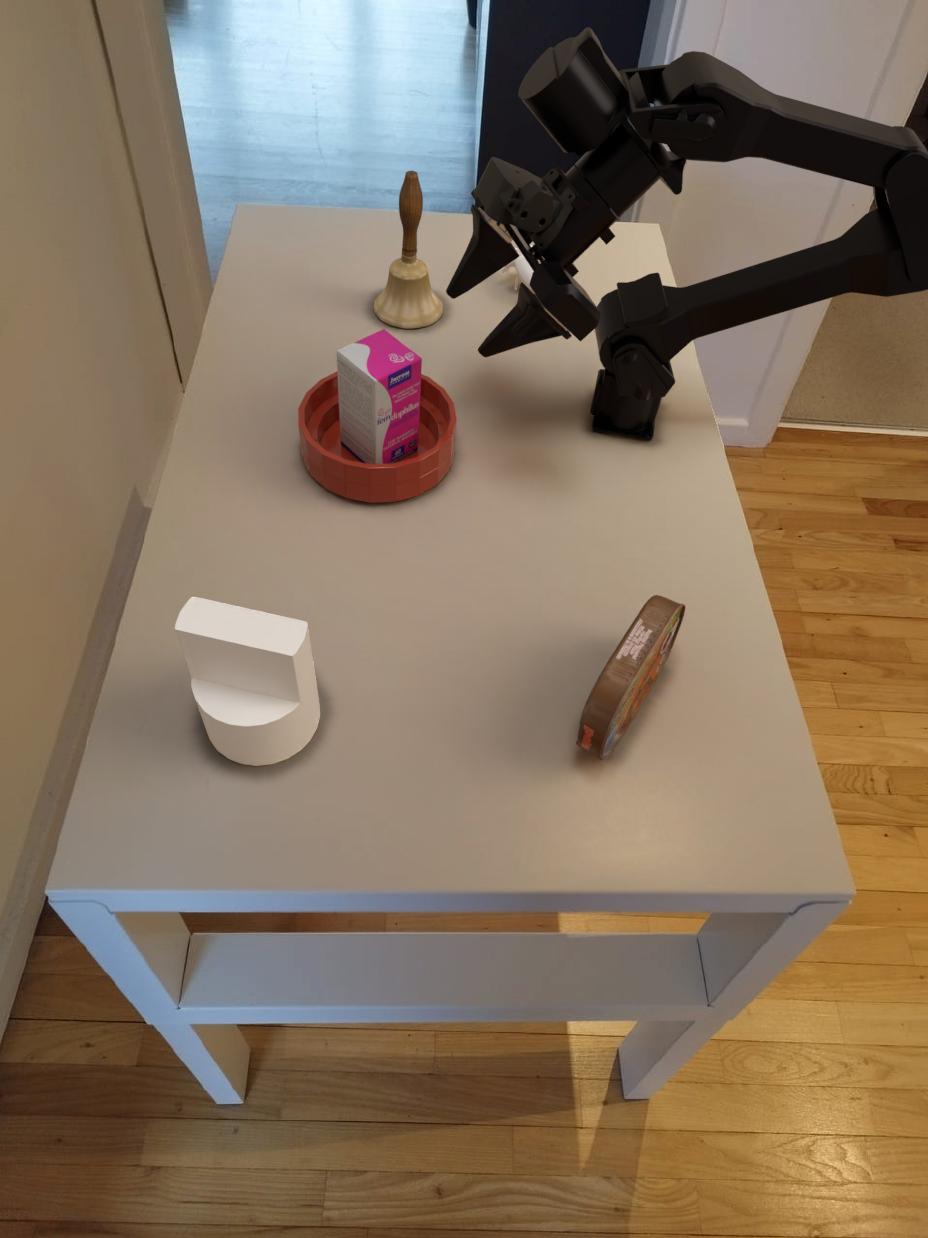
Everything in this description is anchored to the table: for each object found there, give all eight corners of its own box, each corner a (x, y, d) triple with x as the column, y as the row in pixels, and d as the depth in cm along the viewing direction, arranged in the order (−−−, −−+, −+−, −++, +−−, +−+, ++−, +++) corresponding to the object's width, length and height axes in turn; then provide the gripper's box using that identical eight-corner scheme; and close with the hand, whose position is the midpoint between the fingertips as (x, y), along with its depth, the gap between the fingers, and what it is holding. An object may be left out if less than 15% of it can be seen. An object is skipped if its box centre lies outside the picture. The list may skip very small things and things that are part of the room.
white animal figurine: (493, 276, 110) (496, 240, 106) (532, 270, 111) (536, 233, 107) (532, 332, 103) (537, 295, 99) (573, 324, 104) (579, 287, 101)
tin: (596, 780, 68) (618, 725, 62) (561, 760, 69) (578, 704, 62) (674, 649, 76) (700, 588, 70) (641, 632, 77) (664, 570, 70)
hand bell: (402, 280, 108) (402, 146, 95) (457, 306, 105) (464, 172, 93) (358, 310, 104) (353, 174, 91) (414, 338, 101) (416, 202, 88)
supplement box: (376, 476, 86) (373, 381, 77) (339, 444, 89) (332, 348, 80) (421, 451, 89) (423, 355, 80) (384, 420, 91) (382, 325, 82)
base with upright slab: (335, 681, 72) (325, 590, 63) (298, 777, 67) (281, 693, 57) (231, 658, 73) (206, 564, 64) (186, 750, 68) (151, 663, 58)
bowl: (466, 417, 93) (469, 378, 89) (435, 518, 84) (437, 480, 80) (328, 392, 94) (325, 353, 90) (282, 490, 85) (276, 451, 81)
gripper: (502, 76, 74) (376, 218, 80) (590, 186, 63) (438, 339, 69) (573, 163, 82) (454, 285, 88) (661, 273, 71) (519, 403, 77)
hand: (464, 323), depth 80 cm, fingers open, 9 cm apart
